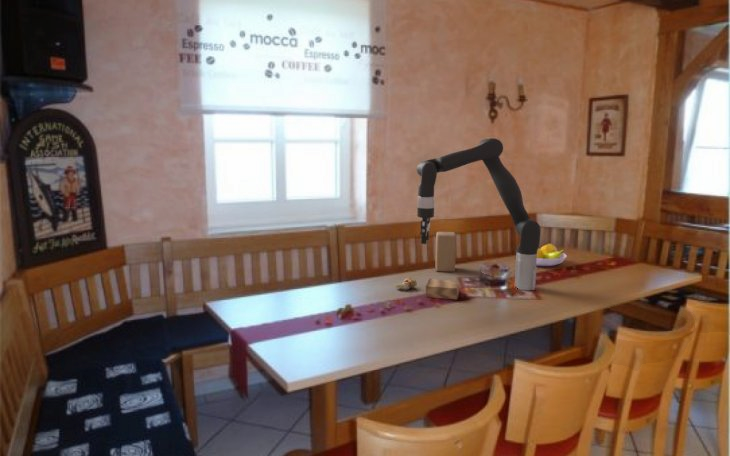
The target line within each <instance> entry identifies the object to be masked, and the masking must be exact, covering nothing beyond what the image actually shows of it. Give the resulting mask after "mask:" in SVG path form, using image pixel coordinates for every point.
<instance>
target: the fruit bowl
mask: <svg viewBox="0 0 730 456" xmlns="http://www.w3.org/2000/svg"><path fill="white" fill-rule="evenodd" d="M567 257H568V255H567V254H566V253H565V252H564V249H562V250H560V251H559V250H558V249H557V246H555V245H554V244H552V243H547V244H544V245H543V246H541V247H540V248H538V250H537V260H536V267H554V266H556V265H559V264H562V263H564V261H565V259H566V258H567Z"/></svg>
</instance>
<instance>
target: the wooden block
mask: <svg viewBox="0 0 730 456" xmlns="http://www.w3.org/2000/svg"><path fill="white" fill-rule="evenodd" d="M456 249H457V236H456V233H455V232H454V231H437V232H436V236H435V271H436V272H444V273H445V272H446V273H448V272H449V273H454V272H455V271H456V270H455V269H456Z"/></svg>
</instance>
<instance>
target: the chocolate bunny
mask: <svg viewBox="0 0 730 456" xmlns="http://www.w3.org/2000/svg"><path fill="white" fill-rule="evenodd" d="M417 285H418V283H417V280H416V279H415V278H414V277H410V276H409V277H407V278H405V279H404V280H403V282H401V283H396V284H395V286H394V287H395V288H397V289H401V290H405V291H407V290H409V289H412V288H414V287H417Z"/></svg>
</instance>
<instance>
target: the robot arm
mask: <svg viewBox="0 0 730 456" xmlns="http://www.w3.org/2000/svg"><path fill="white" fill-rule="evenodd" d="M503 152H504V145H503V143H502V141H501V140H500V139H497V138H494V137H493V138H491V137H490V138H485V139H481V141H479V143H478V144H477V146H474V147H471V148H467V149H465V150H464V149H463V150H459V151H455V152H452V153H448V154H445V155H442V156H439V157H436V158H430V159H427V160H424V161H420V163H418V165H417V167H416V172H417V174H418V176H420V177H421V180H420V183H419V184H418V194H417V196H418V197H417V206H416V207H417V209H416V212H417V214H416V215H417V217H418V218H420V219H421V221H420V228H419V229H420V236H421V238H420V239H421V241H420V242H421V244H422V245H426V244H427V241H429V240H430V235H429V234H430V230H431V219H432V218H434V217H435V185H436V180H437V175H438V173H445V172H448V171H452V170H456V169H458V168H460V167H461V168H462V167H463V166H466V165H468V164H471V163H476V162H479V161H482V162H483V164H484V165H485V167H486V168H487V169H486V170H488V173H489V174H490V177H491V179H492V181H493V183H494V185H495V188H496V190H497V192H498V194H499V196H500V198H501V201H502V202H503V204H504V206H505V207H506V209H507V210H508V212H509V215H510V216H511V217H510V218H511V219H512V223H513V225H514V228H515V231H516V233H517V234H518V235H519V236H520V238H519V239H520V240H519V244H518V246H516V258H515V270H514V272H515V274H514V275H515V276H514V287H515V286H516V287H517V288H518V289H517V288H516V289H517V290H520V291H535V290H536V282H537V278H536V277H537V266H536V260H537V250H538V248H539V247H540V241H541V225H540V224H539V223H538V222H537V221H535V220H534V219H532V218H531V217H530V215H529V213H528V212H527V209H526V208H525V206H524V201H523V195H522V191H521V188H520V186H519V184H518V182H517V180H516V178H515V177H514V175H513V174H512V173H511V172H510V171H509V170H508V169H507V167H506V166H505V165H504V164H503V163H502V160H501V158H500V156H501V155H502V153H503ZM539 249H540V248H539Z"/></svg>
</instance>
